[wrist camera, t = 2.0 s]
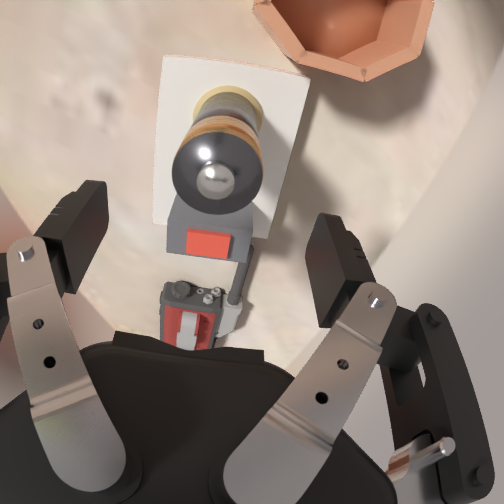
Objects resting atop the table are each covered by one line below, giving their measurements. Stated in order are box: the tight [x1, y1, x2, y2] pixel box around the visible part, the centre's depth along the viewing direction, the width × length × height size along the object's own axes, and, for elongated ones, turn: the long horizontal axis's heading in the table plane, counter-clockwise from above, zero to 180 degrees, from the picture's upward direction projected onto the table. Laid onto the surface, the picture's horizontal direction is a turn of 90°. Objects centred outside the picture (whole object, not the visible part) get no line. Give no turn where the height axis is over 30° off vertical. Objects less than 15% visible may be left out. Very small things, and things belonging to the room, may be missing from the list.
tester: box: [153, 54, 311, 263], centre depth 21 cm, size 14×10×6 cm
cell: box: [172, 92, 263, 215], centre depth 17 cm, size 4×4×10 cm
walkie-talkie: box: [160, 244, 254, 351], centre depth 34 cm, size 9×4×20 cm
